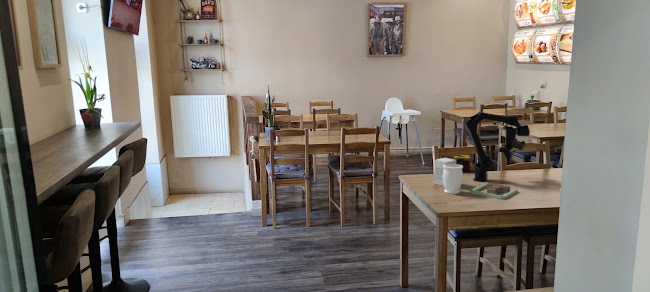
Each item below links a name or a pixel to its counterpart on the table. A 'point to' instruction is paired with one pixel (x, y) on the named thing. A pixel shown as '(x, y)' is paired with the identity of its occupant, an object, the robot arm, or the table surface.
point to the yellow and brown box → (463, 162)
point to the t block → (497, 188)
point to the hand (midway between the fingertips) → (509, 162)
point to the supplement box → (441, 169)
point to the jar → (452, 178)
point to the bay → (476, 191)
